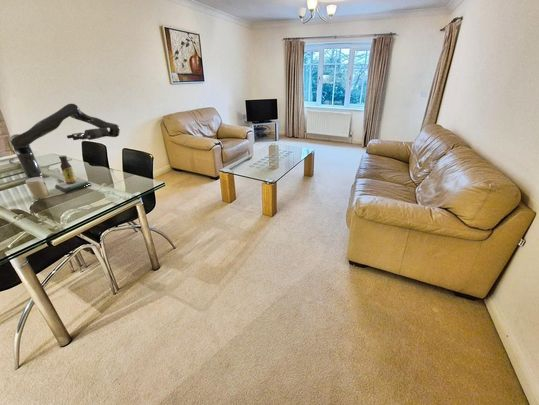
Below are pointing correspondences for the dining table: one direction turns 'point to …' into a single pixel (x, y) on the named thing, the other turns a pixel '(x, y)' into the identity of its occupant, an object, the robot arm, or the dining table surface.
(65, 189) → the kitchen scale
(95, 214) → the dining table surface
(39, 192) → the coffee cup
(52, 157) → the dining table surface
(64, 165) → the sauce bottle
